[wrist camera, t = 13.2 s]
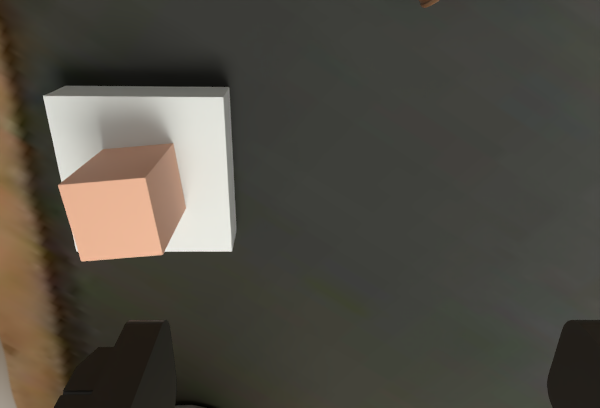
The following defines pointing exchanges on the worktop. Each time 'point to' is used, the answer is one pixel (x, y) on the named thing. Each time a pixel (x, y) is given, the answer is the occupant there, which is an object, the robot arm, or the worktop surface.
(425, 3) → the tin
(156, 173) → the terracotta block
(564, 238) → the worktop surface
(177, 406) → the canister
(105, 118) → the white block
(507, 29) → the worktop surface
